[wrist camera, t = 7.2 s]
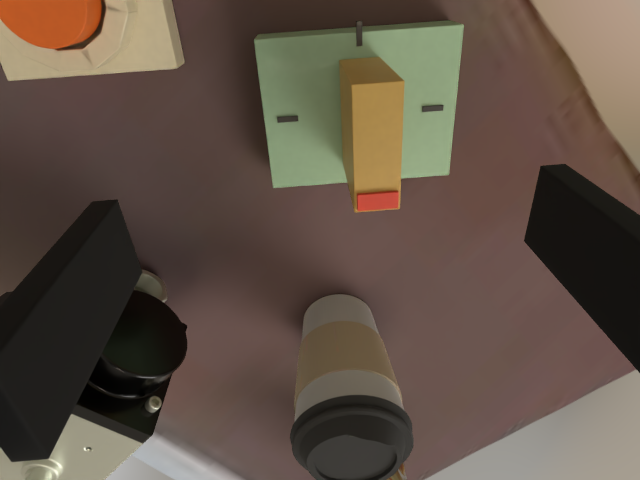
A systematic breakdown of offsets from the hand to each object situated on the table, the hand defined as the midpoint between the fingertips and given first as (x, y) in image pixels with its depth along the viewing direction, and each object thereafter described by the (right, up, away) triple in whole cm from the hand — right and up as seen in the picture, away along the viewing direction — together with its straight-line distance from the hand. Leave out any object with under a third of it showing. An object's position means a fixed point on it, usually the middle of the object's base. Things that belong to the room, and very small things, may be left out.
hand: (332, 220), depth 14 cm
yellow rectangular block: (+2, +8, +15) cm, 17 cm away
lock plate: (+2, +9, +18) cm, 20 cm away
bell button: (-15, +13, +11) cm, 23 cm away
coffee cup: (+1, -9, +29) cm, 30 cm away
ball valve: (-19, -6, +26) cm, 33 cm away
